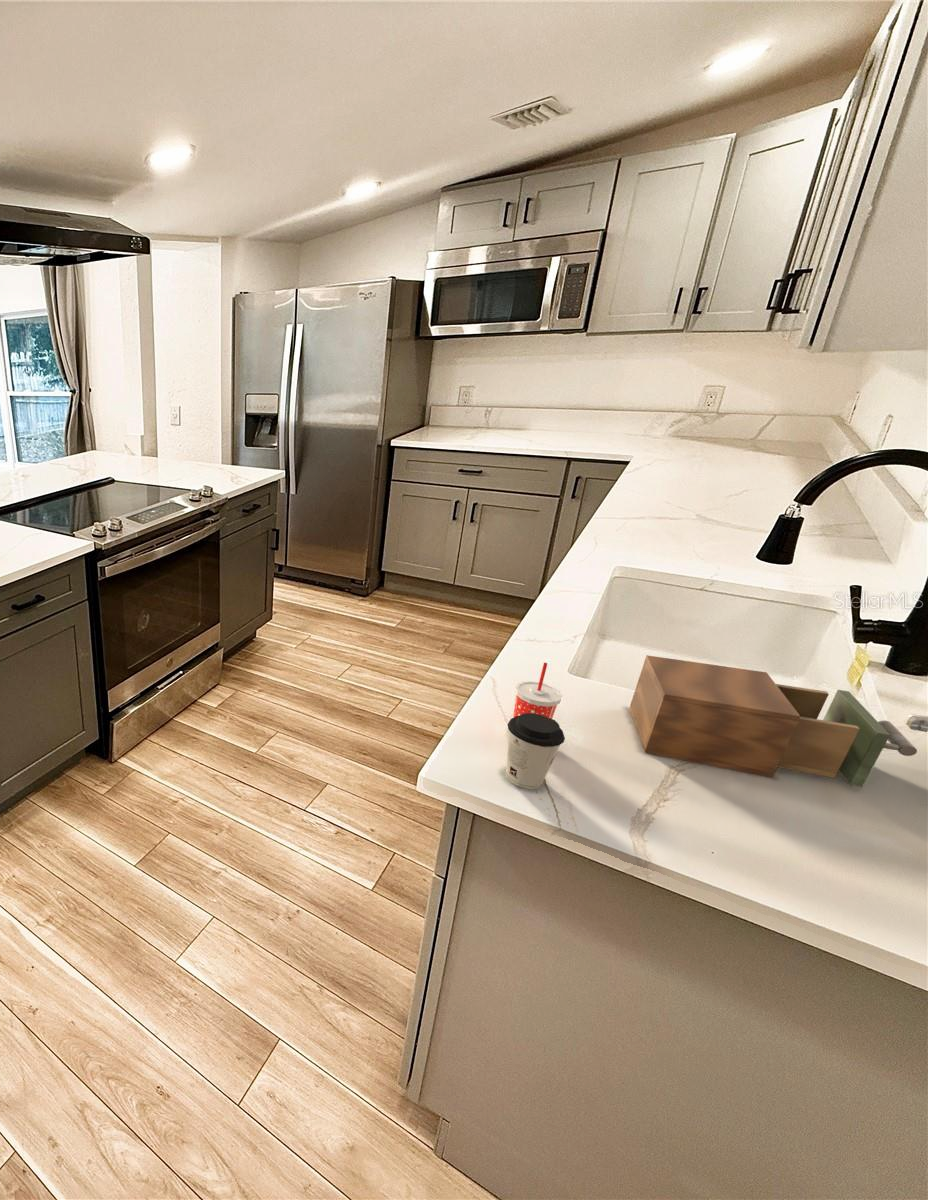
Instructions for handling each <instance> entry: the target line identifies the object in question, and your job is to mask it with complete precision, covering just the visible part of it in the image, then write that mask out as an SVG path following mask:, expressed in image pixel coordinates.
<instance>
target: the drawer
mask: <svg viewBox="0 0 928 1200" xmlns="http://www.w3.org/2000/svg"><path fill="white" fill-rule="evenodd" d="M775 684H776V685H777V687H778V688H779V689H780V690H781V692H782V693H783V694H784V696H785V697H786V698H787V699H788V701H789V702H790V703H791V705H792V706H793V707H794V709H795V710H796V711H797V712H798V714H799V715H800V719H799V721H798V723H797V725H796V727H795V730H794V732H793V734H792V736H791V738H790V740H789V743H788V745H787V747H786V749H785V751H784V753H783V756H782V758H781V760H780V762H779V764H778V766H777V768H783V769H787V770H793V771H799V772H804V773H808V774H814V775H818V776H819V775H820V776H824V777H830V778H836V776H837V775H838V772H839V773H840V774H841V776H842V777H843V778H844V779H845V781H846V783H848V784H849V786H853V787H858V788H863V786H864V784H865V782H866V781H867V779H868V777H869V775H870V773H871V771H872V770H873V767H874V766H875V764H876V762H877V760H878V758H879V757H880V755H881V753H882V751H883V749H887V750H892V751H897V752H898V753H899V754H900V755H902V756H904V757H911V756H914V755H916V754H917V753H918V749H917V748H916V747H915V746H914V745H913V744H912V743H911V742H910V740H908V739H907V738H906V736H904V735H903V734H902V732H901V731H900V730H899V729H898V728H896V726H895V725H894V724H893V723H892V722H891V721H889V720H879V721H878V720H877V719H876V718H875V717H874V716H873V715H872V714H871V713H870V712H869V711H868V710H867V708H865V706H863V704H862V703H861V702H860V701H859V700H858V699H857V698H856V697H855V696H854V695H853V694H852V693H851V692H850V691H849V690H842V689H837V690H836V692H835V694H834V697H833V698H832V700H831V703H830V704H829V707H828V709H827V711H826V713H825V715H824V718H823V719H818V718H819V716H820V714H821V712H822V709H823V708H824V705H825V703H826V701H827V699H828V697H829V695H830V694H829V692H828V691H826V690H820V689H813V688H807V687H800V686H793V685H785V684H780V683H779V684H778V683H775Z"/></svg>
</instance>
